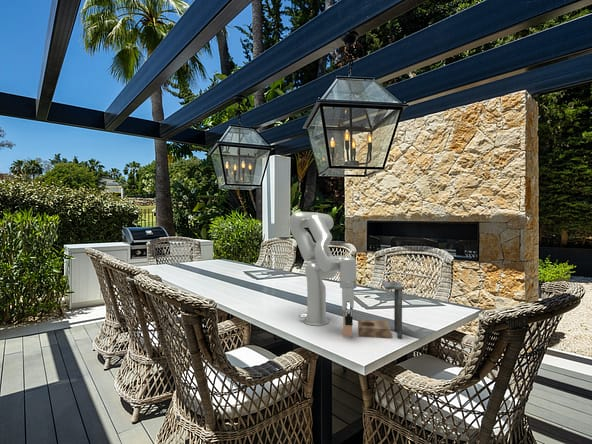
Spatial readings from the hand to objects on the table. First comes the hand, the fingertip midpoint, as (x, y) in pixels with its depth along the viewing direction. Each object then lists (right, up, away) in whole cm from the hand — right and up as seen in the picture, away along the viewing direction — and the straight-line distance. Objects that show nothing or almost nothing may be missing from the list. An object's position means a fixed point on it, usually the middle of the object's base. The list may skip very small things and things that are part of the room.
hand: (349, 322), depth 151 cm
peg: (-1, -6, +1) cm, 6 cm away
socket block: (+15, -6, +3) cm, 16 cm away
